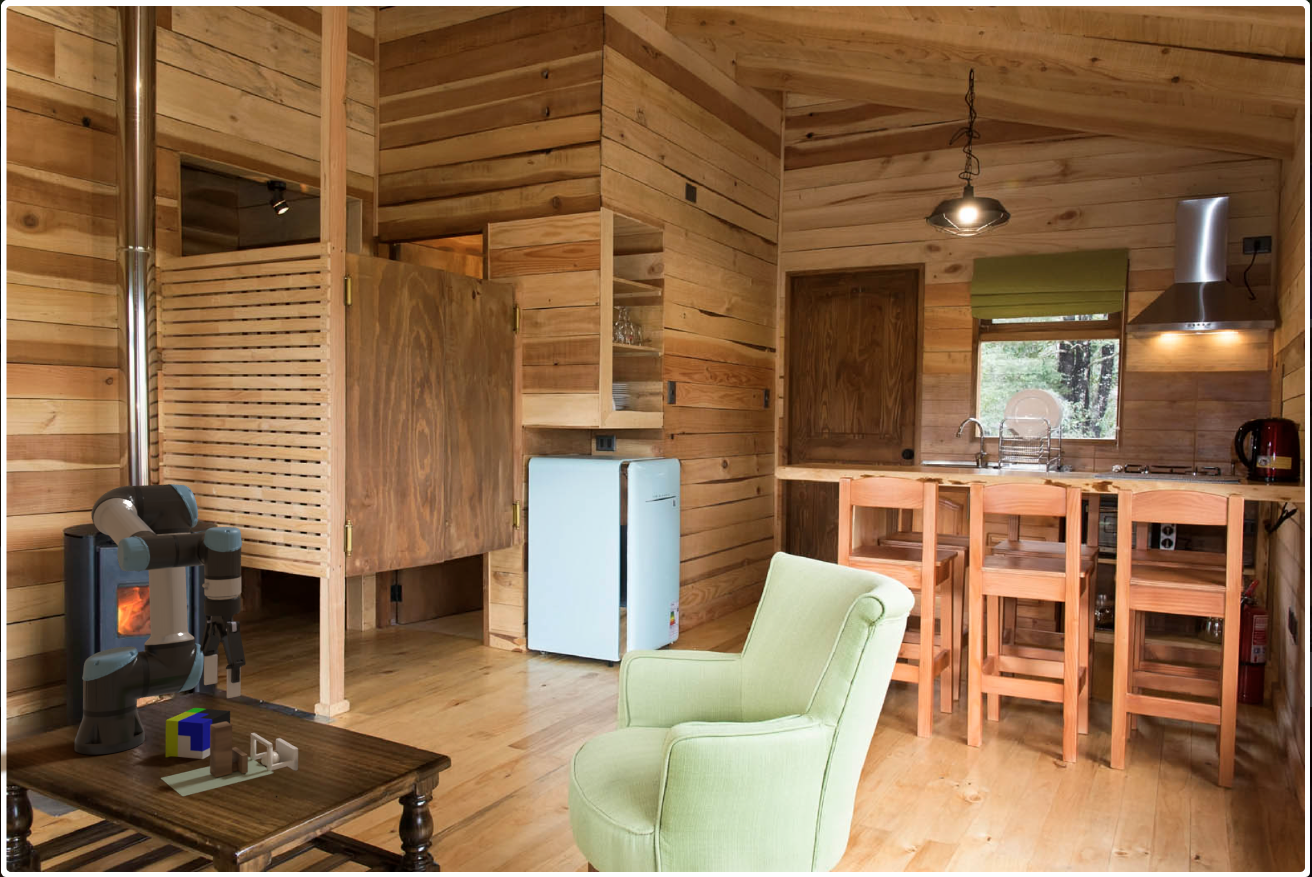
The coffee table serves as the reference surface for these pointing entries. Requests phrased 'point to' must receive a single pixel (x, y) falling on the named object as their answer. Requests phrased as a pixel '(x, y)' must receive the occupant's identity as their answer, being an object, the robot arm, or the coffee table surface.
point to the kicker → (225, 752)
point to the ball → (274, 758)
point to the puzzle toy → (192, 732)
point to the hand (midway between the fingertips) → (221, 690)
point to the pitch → (206, 781)
